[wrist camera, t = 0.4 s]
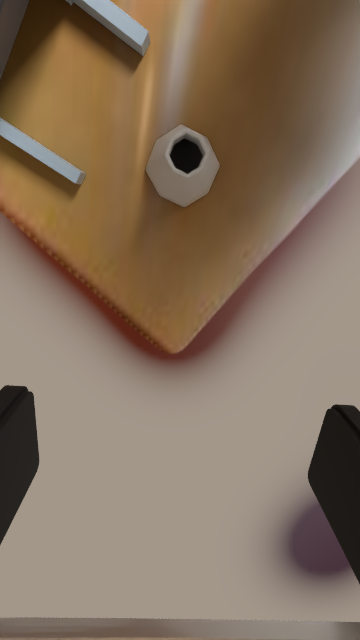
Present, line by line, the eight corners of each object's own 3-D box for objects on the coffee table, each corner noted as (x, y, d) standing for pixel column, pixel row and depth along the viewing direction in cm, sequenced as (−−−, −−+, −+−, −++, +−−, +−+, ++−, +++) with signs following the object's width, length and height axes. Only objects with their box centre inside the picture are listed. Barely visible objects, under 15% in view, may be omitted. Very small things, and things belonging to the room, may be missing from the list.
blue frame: (24, -58, 25) (-156, -373, 11) (150, 42, 28) (128, -117, 14) (-34, 110, 30) (-219, 28, 16) (81, 184, 32) (11, 171, 18)
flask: (232, 165, 32) (257, 150, 22) (184, 220, 34) (189, 227, 24) (180, 109, 30) (183, 67, 21) (132, 170, 32) (116, 157, 22)
